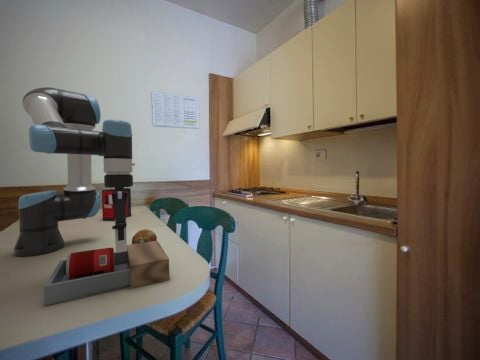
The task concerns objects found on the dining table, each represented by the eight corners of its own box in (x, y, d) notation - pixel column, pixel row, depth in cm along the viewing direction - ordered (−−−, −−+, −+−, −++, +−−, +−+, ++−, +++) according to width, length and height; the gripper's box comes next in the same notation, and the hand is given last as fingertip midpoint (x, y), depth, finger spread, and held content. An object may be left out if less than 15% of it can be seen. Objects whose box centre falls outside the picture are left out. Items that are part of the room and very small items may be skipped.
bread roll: (159, 250, 101) (163, 232, 104) (143, 247, 92) (149, 227, 95) (140, 248, 104) (146, 230, 107) (124, 245, 95) (130, 226, 98)
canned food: (113, 241, 70) (69, 247, 65) (113, 258, 64) (64, 266, 59) (114, 261, 73) (72, 269, 68) (114, 279, 66) (67, 289, 61)
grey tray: (44, 305, 53) (44, 286, 53) (60, 275, 69) (60, 260, 68) (130, 286, 62) (130, 270, 61) (127, 263, 77) (127, 250, 77)
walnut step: (130, 288, 61) (130, 265, 60) (127, 262, 78) (126, 245, 78) (169, 279, 66) (169, 258, 65) (157, 256, 83) (157, 240, 83)
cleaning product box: (115, 221, 146) (114, 190, 145) (102, 220, 147) (101, 190, 146) (131, 216, 162) (130, 188, 161) (119, 216, 163) (118, 188, 162)
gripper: (136, 173, 58) (138, 255, 59) (130, 173, 80) (131, 233, 81) (101, 174, 55) (104, 261, 55) (105, 173, 77) (107, 236, 77)
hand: (120, 244), depth 68 cm, fingers open, 13 cm apart
